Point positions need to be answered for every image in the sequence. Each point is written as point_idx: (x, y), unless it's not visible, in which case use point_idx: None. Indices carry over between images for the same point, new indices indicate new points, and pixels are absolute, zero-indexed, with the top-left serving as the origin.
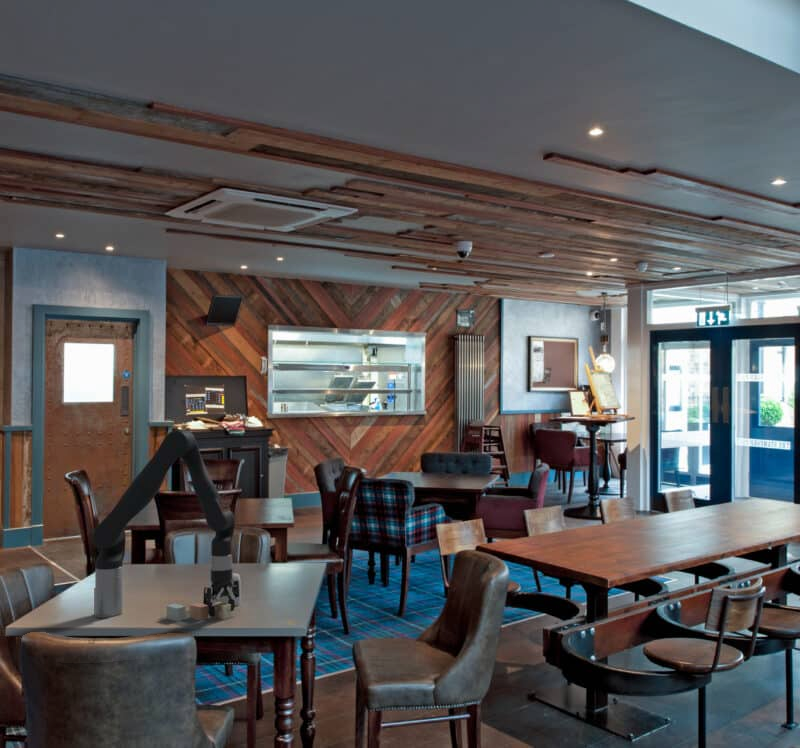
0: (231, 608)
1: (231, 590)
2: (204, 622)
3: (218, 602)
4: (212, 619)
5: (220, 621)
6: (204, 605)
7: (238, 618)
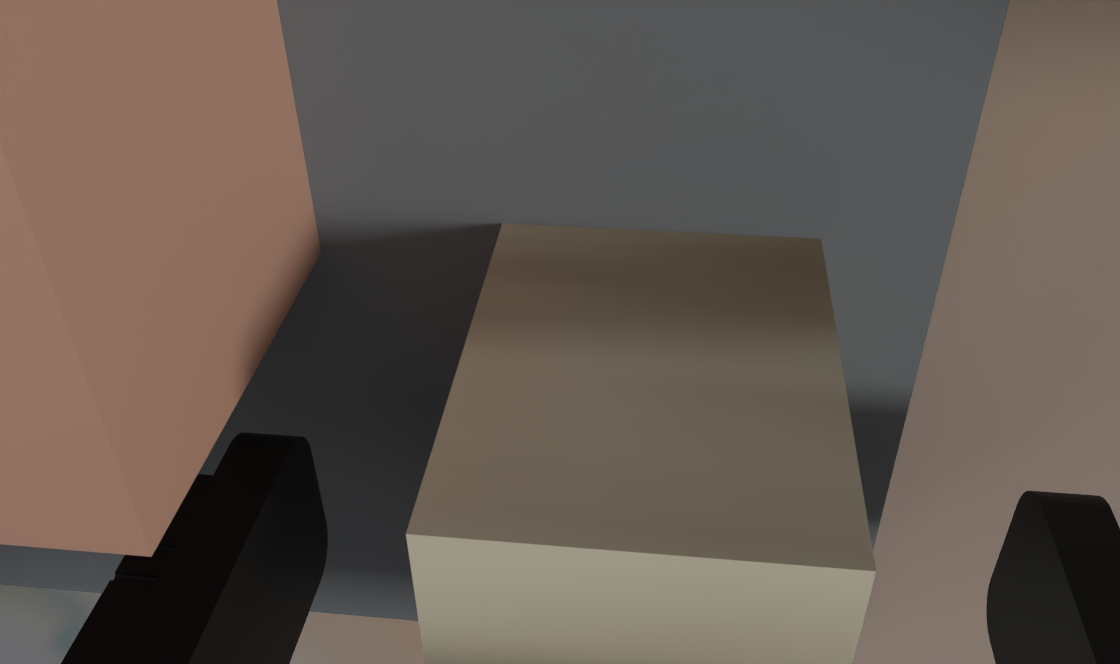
0: (1008, 651)
1: None
2: None
3: (750, 598)
4: (344, 408)
5: (386, 615)
6: (7, 461)
7: (894, 648)
